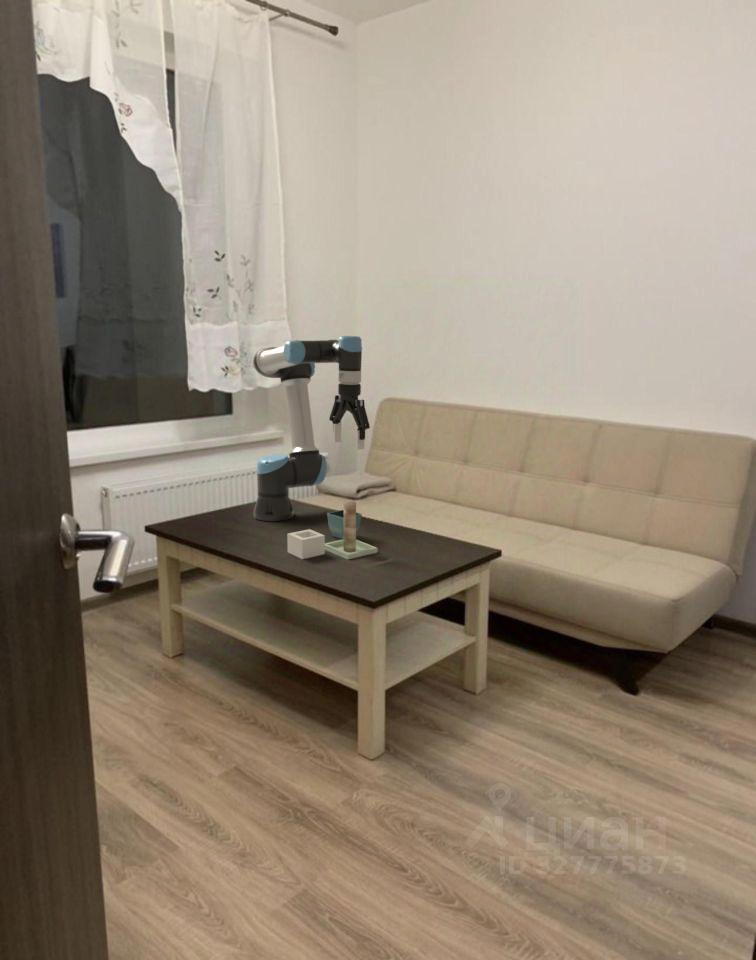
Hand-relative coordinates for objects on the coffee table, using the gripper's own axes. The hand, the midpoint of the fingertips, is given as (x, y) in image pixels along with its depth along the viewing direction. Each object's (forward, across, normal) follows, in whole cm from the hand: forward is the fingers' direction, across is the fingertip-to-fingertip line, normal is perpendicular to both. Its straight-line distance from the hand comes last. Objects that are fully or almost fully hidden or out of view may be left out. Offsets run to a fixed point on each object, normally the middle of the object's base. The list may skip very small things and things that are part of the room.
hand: (348, 445), depth 256 cm
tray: (+32, +16, -10) cm, 37 cm away
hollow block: (+32, +10, -23) cm, 41 cm away
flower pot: (+32, +2, -2) cm, 33 cm away
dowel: (+31, +16, -10) cm, 36 cm away
